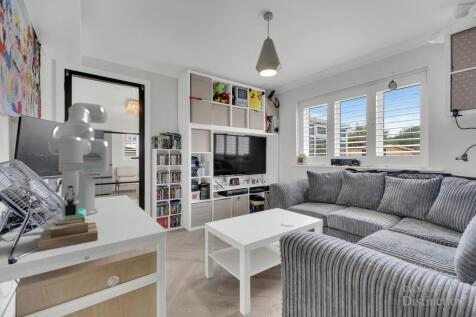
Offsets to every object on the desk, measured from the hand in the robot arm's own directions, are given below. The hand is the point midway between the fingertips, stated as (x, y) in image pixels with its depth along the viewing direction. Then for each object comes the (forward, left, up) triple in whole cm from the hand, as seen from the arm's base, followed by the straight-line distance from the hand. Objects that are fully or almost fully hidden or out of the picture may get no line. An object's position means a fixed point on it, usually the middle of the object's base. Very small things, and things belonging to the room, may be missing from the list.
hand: (70, 213), depth 84 cm
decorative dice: (-14, +1, -10) cm, 18 cm away
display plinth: (0, 0, -10) cm, 10 cm away
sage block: (0, 0, -1) cm, 1 cm away
